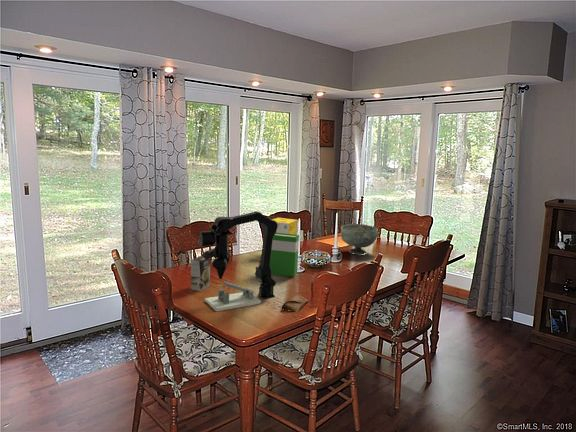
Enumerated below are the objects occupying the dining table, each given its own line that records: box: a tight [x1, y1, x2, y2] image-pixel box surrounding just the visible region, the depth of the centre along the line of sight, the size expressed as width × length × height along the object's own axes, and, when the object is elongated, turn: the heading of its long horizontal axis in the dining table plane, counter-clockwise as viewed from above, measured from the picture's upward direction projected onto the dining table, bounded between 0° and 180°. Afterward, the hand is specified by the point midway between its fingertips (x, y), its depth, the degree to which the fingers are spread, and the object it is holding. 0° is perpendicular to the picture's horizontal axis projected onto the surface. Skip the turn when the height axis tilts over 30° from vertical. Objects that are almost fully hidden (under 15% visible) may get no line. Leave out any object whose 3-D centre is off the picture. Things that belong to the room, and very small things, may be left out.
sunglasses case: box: [281, 292, 309, 312], centre depth 206 cm, size 18×7×7 cm, turn 159°
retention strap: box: [222, 280, 252, 293], centre depth 206 cm, size 15×5×1 cm, turn 123°
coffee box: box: [190, 255, 211, 292], centre depth 223 cm, size 9×6×16 cm
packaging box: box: [271, 217, 299, 235], centre depth 292 cm, size 16×16×25 cm
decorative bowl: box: [340, 223, 379, 254], centre depth 308 cm, size 26×26×20 cm
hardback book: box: [270, 233, 300, 278], centre depth 252 cm, size 18×7×24 cm, turn 75°
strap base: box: [204, 287, 262, 312], centre depth 205 cm, size 23×14×6 cm, turn 122°
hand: (221, 275), depth 202 cm, fingers open, 9 cm apart
